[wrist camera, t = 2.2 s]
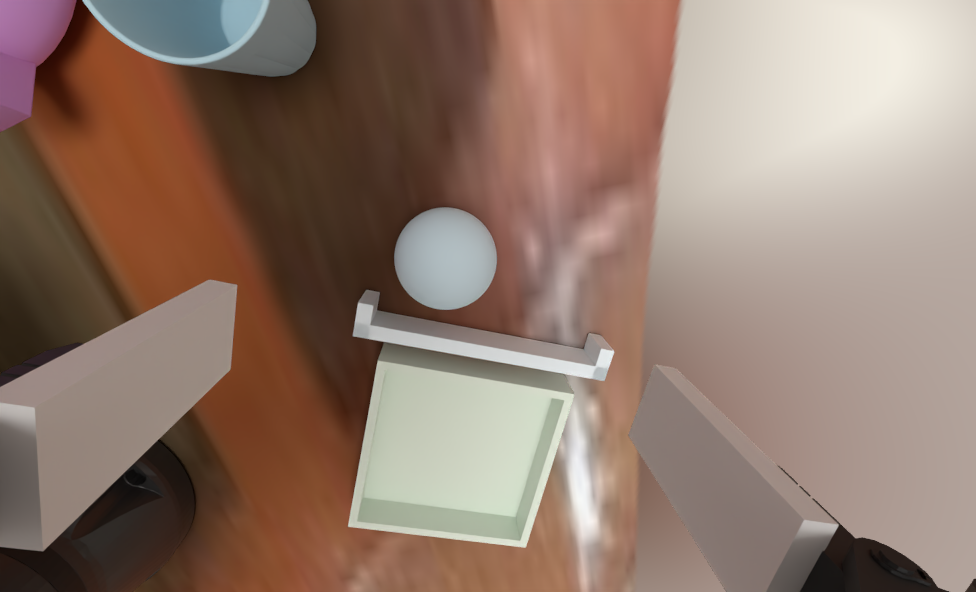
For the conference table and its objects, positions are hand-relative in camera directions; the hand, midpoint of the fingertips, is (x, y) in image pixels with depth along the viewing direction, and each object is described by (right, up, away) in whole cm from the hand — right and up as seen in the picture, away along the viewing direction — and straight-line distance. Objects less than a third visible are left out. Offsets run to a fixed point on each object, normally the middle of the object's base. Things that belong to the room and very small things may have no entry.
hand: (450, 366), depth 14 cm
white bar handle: (+1, -1, +20) cm, 20 cm away
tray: (-1, -9, +22) cm, 24 cm away
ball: (-2, +6, +18) cm, 19 cm away
